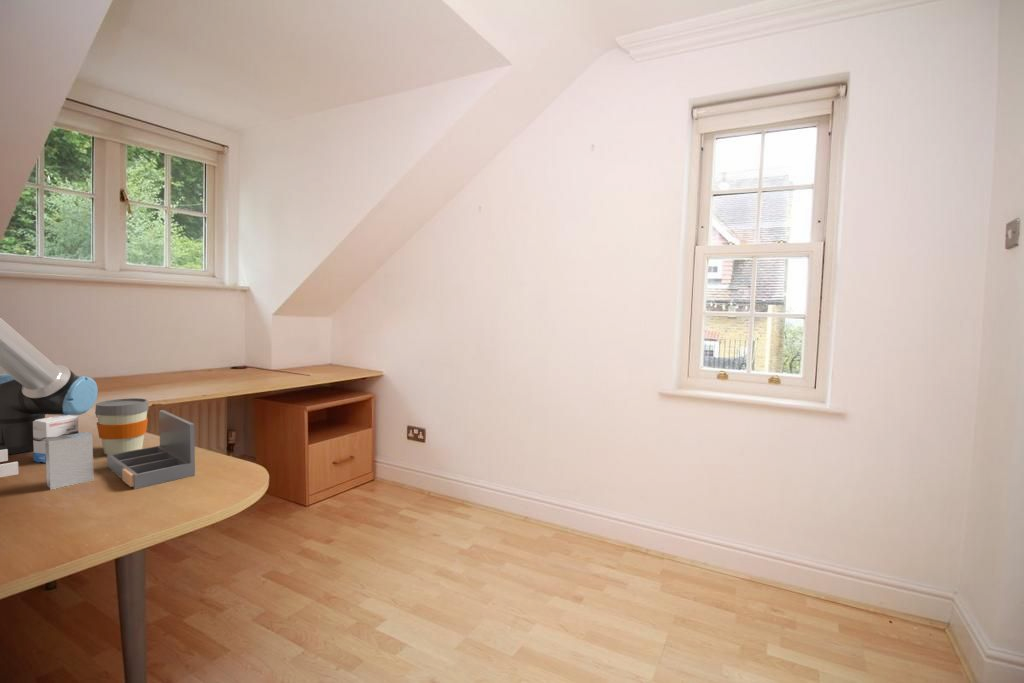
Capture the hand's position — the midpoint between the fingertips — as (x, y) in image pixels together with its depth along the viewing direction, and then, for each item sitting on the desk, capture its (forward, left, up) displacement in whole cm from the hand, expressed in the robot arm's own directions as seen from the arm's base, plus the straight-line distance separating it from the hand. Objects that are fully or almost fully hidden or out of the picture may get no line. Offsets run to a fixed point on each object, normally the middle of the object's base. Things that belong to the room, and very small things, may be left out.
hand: (12, 461), depth 111 cm
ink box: (-26, +12, -8) cm, 30 cm away
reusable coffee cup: (-21, +26, -8) cm, 34 cm away
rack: (+4, +25, -8) cm, 26 cm away
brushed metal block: (0, +10, -8) cm, 13 cm away
